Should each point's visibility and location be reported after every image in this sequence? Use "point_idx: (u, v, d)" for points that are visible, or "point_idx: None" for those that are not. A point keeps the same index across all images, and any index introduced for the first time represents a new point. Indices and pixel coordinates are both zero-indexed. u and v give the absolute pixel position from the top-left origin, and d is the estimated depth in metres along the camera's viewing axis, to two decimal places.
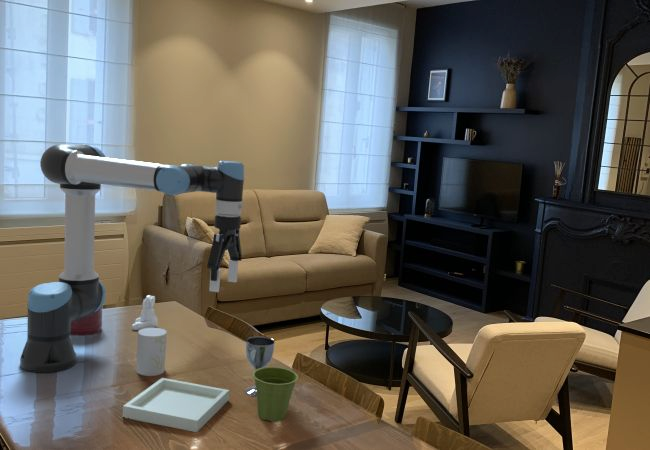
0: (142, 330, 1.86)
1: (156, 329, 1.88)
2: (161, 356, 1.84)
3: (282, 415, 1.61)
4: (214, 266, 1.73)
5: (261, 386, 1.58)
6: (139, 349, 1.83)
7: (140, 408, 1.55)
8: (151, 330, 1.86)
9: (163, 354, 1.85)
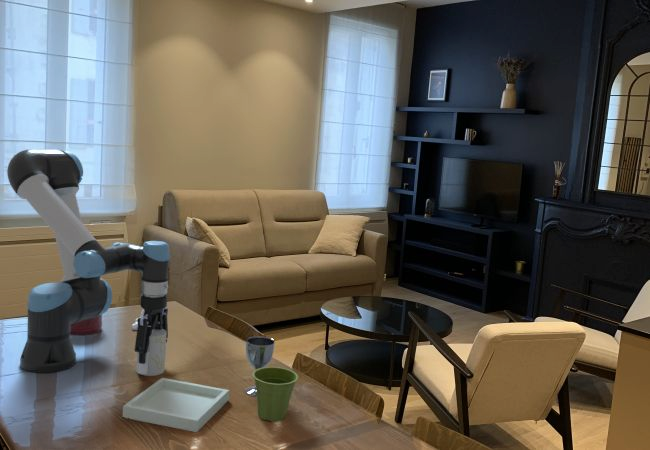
0: None
1: (156, 329, 1.88)
2: (161, 356, 1.84)
3: (282, 415, 1.61)
4: (141, 351, 1.78)
5: (261, 386, 1.58)
6: None
7: (140, 408, 1.55)
8: None
9: (163, 354, 1.85)
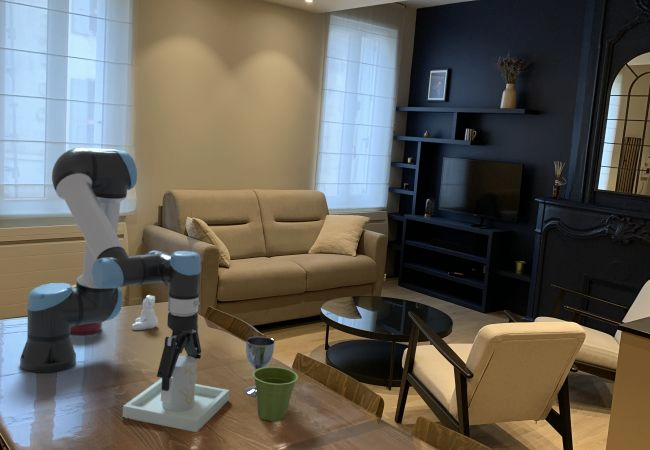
0: None
1: (184, 357, 1.64)
2: (191, 389, 1.60)
3: (282, 415, 1.61)
4: (165, 376, 1.52)
5: (261, 386, 1.58)
6: None
7: (140, 408, 1.55)
8: (179, 359, 1.62)
9: (193, 386, 1.61)
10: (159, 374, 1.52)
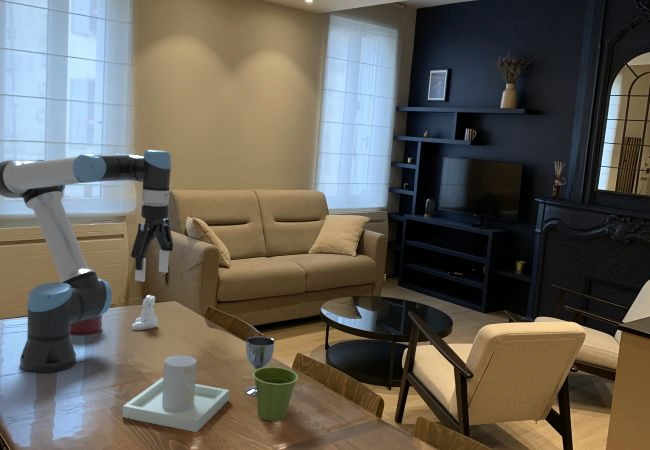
0: (168, 359, 1.62)
1: (184, 357, 1.64)
2: (191, 389, 1.60)
3: (282, 415, 1.61)
4: (138, 255, 1.72)
5: (261, 386, 1.58)
6: (166, 381, 1.59)
7: (140, 408, 1.55)
8: (179, 359, 1.62)
9: (193, 386, 1.61)
10: (133, 254, 1.72)
